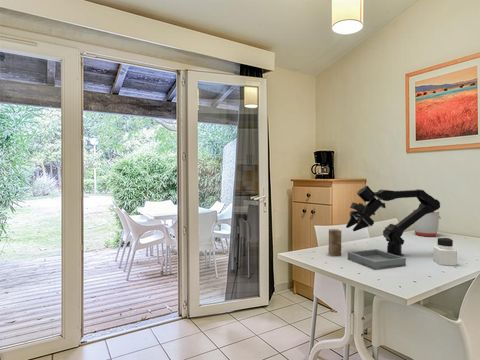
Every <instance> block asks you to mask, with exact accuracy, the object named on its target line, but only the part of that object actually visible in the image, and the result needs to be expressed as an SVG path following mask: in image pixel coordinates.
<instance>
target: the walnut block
mask: <svg viewBox="0 0 480 360" xmlns="http://www.w3.org/2000/svg"><path fill="white" fill-rule="evenodd" d="M328 255H330V256H331V257H341V256H342V230H340V229H339V228H337V229H336V228H334V229H333V228H328Z"/></svg>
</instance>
